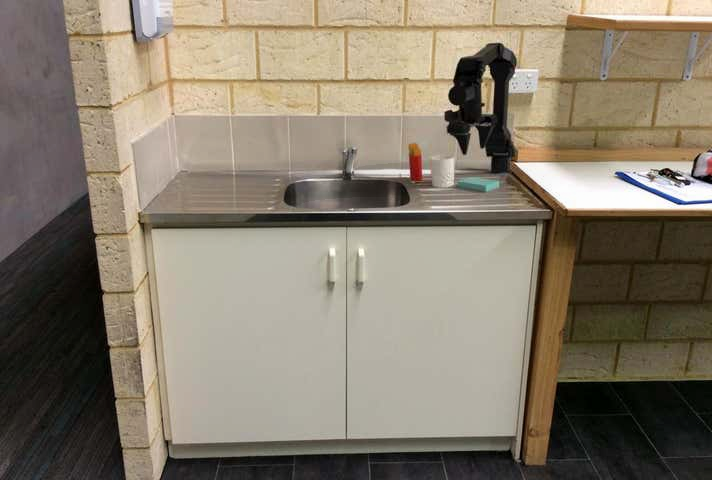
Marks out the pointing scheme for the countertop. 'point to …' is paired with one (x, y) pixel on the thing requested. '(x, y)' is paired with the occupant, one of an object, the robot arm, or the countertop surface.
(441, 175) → the white cup
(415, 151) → the french fries
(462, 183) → the lid
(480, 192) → the mat
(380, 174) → the countertop surface
